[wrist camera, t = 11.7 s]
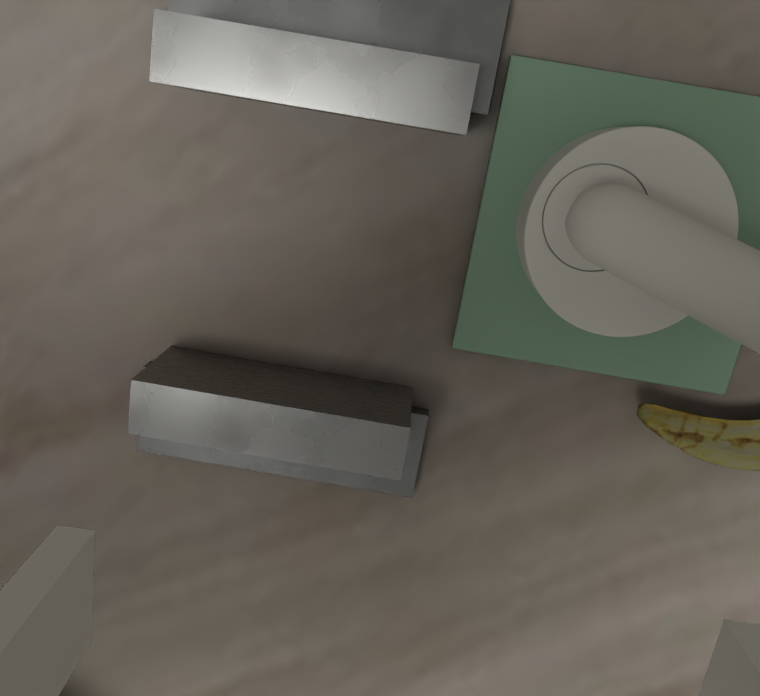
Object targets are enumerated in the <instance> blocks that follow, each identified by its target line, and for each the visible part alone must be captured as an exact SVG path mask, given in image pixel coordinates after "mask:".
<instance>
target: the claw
mask: <svg viewBox="0 0 760 696" xmlns="http://www.w3.org/2000/svg"><path fill="white" fill-rule="evenodd" d="M637 416H638V417H639V418H640V419H641V420H642V422H643V423H644V424H645V425H646V427H648V428H649V429H651V430H652V431H653V432H655V433H656V434H657V435H659V436H660V437H662V438H663V439H665V440H666V441H667V442H668V443H670V444H672V445H675V446H677V447H678V448H680V449H681V450H683V451H684V452H686V453H688V454H690V455H692V456H695V457H697V458H699V459H702V460H705V461H708V462H711V463H714V464H717V465H720V466H724V467H728V468H734V469H740V470H754V471H760V419H754V420H725V419H717V418H711V417H706V416H700V415H696V414H692V413H688V412H683V411H678V410H673V409H668V408H664V407H661V406H658V405H654V404H651V403H644V404H640V405H638V410H637Z"/></svg>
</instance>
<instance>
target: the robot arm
mask: <svg viewBox="0 0 760 696" xmlns="http://www.w3.org/2000/svg"><path fill="white" fill-rule="evenodd" d="M94 544H95V531H94V530H87V529H80V528H73V527H66V526H59V525H57V527H56V528H55V529H54V530H53V531H52V532H51V533H50V535H49V536H48V537H47V538H46V539H45V540H44V541H43V543H42V544H41V545H40V546H39V547H38V548H37V549H36V550H35V552H34V553H33V554H32V555H31V556H30V557H29V558H28V560H27V561H26V562H25V563H24V564H23V565H22V566H21V568H20V569H19V570H18V571H17V572H16V573H15V574H14V576H13V577H12V578H11V579H10V580H9V581H8V582H7V583H6V585H5V586H4V587H3V588H2V589H1V590H0V696H59V694H60V693H61V691H62V690H63V688H64V686H65V685H66V683H67V681H68V680H69V678H70V676H71V675H72V673H73V671H74V670H75V668H76V667H77V665H78V663H79V662H80V660H81V658H82V657H83V655H84V653H85V652H86V650H87V649H88V647H89V645H90V644H91V640H92V608H93V576H94ZM699 696H760V624H753V623H746V622H739V621H732V620H724V622H723V625H722V628H721V631H720V634H719V637H718V640H717V643H716V646H715V649H714V652H713V654H712V657H711V660H710V663H709V666H708V669H707V672H706V675H705V678H704V681H703V684H702V687H701V690H700V693H699Z"/></svg>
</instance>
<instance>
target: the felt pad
mask: <svg viewBox="0 0 760 696" xmlns="http://www.w3.org/2000/svg"><path fill="white" fill-rule="evenodd" d="M631 126H649V127H657V128H662V129H667V130H670V131H674V132H676V133H679V134H681V135H684V136H686V137H688V138H690V139H691V140H693V141H695V142H696V143H698V144H699V145H701V146H702V147H703V148H705V149H706V150H707V151H708V152H709V153H710V154H711V155H712V156H713V157H714V158H715V159H716V160H717V162H718V163H719V164H720V165H721V167H722V168H723V170H724V171H725V173H726V175H727V177H728V179H729V181H730V183H731V185H732V188H733V191H734V194H735V197H736V202H737V208H738V218H739V225H738V237H737V240H739V241H741V242H743V243H745V244H747V245H749V246H751V247H753V248H755V249H757V250H759V251H760V97H758V96H752V95H746V94H740V93H734V92H728V91H722V90H716V89H711V88H705V87H699V86H693V85H687V84H681V83H675V82H669V81H663V80H657V79H652V78H646V77H640V76H634V75H628V74H622V73H616V72H610V71H604V70H598V69H592V68H587V67H581V66H575V65H569V64H563V63H557V62H551V61H545V60H539V59H533V58H528V57H522V56H516V55H511V56H510V58H509V63H508V68H507V73H506V78H505V83H504V88H503V93H502V98H501V103H500V108H499V113H498V118H497V122H496V127H495V132H494V137H493V142H492V147H491V152H490V157H489V162H488V167H487V172H486V177H485V182H484V187H483V192H482V197H481V202H480V207H479V212H478V217H477V222H476V227H475V232H474V237H473V242H472V247H471V252H470V257H469V262H468V267H467V272H466V277H465V281H464V286H463V291H462V296H461V301H460V306H459V311H458V316H457V321H456V326H455V331H454V336H453V341H452V348H454V349H460V350H465V351H471V352H477V353H483V354H489V355H495V356H500V357H506V358H512V359H518V360H524V361H530V362H535V363H541V364H547V365H553V366H559V367H565V368H570V369H576V370H582V371H588V372H594V373H600V374H605V375H611V376H617V377H623V378H629V379H635V380H640V381H646V382H652V383H658V384H664V385H670V386H675V387H681V388H687V389H693V390H699V391H705V392H710V393H716V394H722V395H725V393H726V390H727V387H728V384H729V381H730V378H731V374H732V371H733V368H734V365H735V362H736V359H737V356H738V353H739V350H740V347H741V344H740V343H738V342H736V341H735V340H733V339H731V338H729V337H727V336H725V335H723V334H722V333H720V332H718V331H716V330H714V329H712V328H711V327H709V326H707V325H705V324H703V323H701V322H700V321H698V320H696V319H694V318H692V317H690V316H687V317H685V318H684V319H682V320H680V321H679V322H677V323H675V324H673V325H671V326H669V327H667V328H664V329H662V330H659V331H656V332H653V333H649V334H645V335H639V336H631V337H612V336H604V335H599V334H595V333H591V332H588V331H585V330H583V329H581V328H578V327H576V326H574V325H572V324H571V323H569V322H567V321H566V320H564V319H563V318H561V317H560V316H559V315H558V314H556V313H555V312H554V311H553V310H552V309H551V308H550V307H549V306H548V305H547V304H546V303H545V301H544V300H543V299H542V297H541V296H540V295H539V293H538V292H537V291H536V289H535V288H534V287H533V285H532V284H531V282H530V281H529V279H528V277H527V276H526V274H525V272H524V269H523V267H522V264H521V261H520V258H519V254H518V249H517V241H516V225H517V217H518V212H519V208H520V204H521V201H522V198H523V196H524V193H525V191H526V189H527V187H528V185H529V183H530V181H531V180H532V178H533V177H534V175H535V174H536V172H537V171H538V170H539V168H540V167H541V166H542V165H543V164H544V162H545V161H546V160H547V159H548V158H549V157H550V156H552V155H553V154H554V153H555V152H556V151H557V150H559V149H560V148H561V147H563V146H564V145H566V144H567V143H569V142H571V141H572V140H574V139H576V138H578V137H580V136H582V135H585V134H588V133H590V132H593V131H597V130H601V129H606V128H613V127H631Z"/></svg>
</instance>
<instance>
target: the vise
mask: <svg viewBox="0 0 760 696" xmlns="http://www.w3.org/2000/svg"><path fill="white" fill-rule="evenodd" d="M509 5H510V0H168V6H167V11H164V10H158V9H154V15H153V31H152V48H151V64H150V80H149V81H151V82H156V83H161V84H166V85H171V86H176V87H181V88H186V89H191V90H196V91H202V92H208V93H214V94H220V95H226V96H232V97H238V98H243V99H249V100H255V101H261V102H267V103H273V104H279V105H285V106H291V107H296V108H302V109H308V110H314V111H320V112H326V113H332V114H338V115H343V116H349V117H355V118H361V119H367V120H373V121H379V122H385V123H391V124H396V125H402V126H408V127H414V128H420V129H426V130H432V131H438V132H443V133H449V134H455V135H466V134H467V129H468V124H469V119H470V113H475V114H481V115H488V112H489V107H490V102H491V97H492V92H493V87H494V82H495V76H496V71H497V66H498V61H499V56H500V51H501V46H502V41H503V36H504V31H505V26H506V21H507V16H508V11H509ZM411 400H412V388H411V387H405V386H399V385H394V384H388V383H382V382H376V381H370V380H364V379H359V378H353V377H347V376H341V375H335V374H330V373H324V372H318V371H312V370H306V369H300V368H295V367H289V366H283V365H277V364H271V363H265V362H260V361H254V360H248V359H242V358H236V357H231V356H225V355H219V354H213V353H207V352H201V351H196V350H190V349H184V348H178V347H172V346H171V347H169V348H168V349H167V350H166V351H165V352H163V353H162V354H161V355H160V356H159V357H158V358H156V359H155V360H154V361H153V362H149V363H148V364H146V365H145V366H144V367H143V370H142V371H141V372H140V373H139V374H137V375H136V376H135V377H134V378H133V379H132V380H131V389H130V405H129V421H128V434H133V435H139V441H138V451H143V452H149V453H154V454H160V455H166V456H172V457H178V458H183V459H189V460H195V461H201V462H207V463H212V464H218V465H224V466H230V467H236V468H241V469H247V470H253V471H259V472H265V473H270V474H276V475H282V476H288V477H294V478H299V479H305V480H311V481H317V482H323V483H328V484H334V485H340V486H346V487H352V488H357V489H363V490H369V491H375V492H381V493H386V494H392V495H398V496H404V497H410V498H412V497H413V492H414V487H415V482H416V477H417V472H418V467H419V462H420V457H421V452H422V447H423V441H424V436H425V431H426V426H427V421H428V416H429V415H428V410H426V409H421V408H415V407H411Z"/></svg>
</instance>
